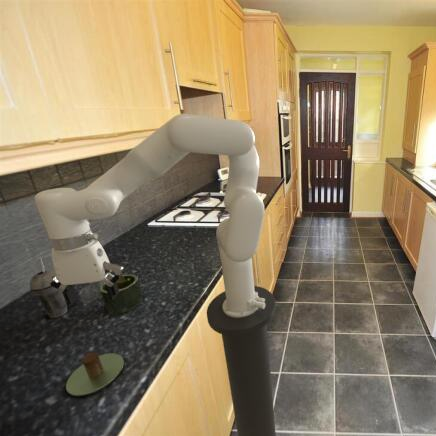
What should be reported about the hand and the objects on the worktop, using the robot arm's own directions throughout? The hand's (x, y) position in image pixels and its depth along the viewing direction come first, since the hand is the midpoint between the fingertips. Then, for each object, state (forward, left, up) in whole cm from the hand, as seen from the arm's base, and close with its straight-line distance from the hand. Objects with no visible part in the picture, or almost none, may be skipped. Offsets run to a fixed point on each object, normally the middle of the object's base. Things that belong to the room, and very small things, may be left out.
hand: (94, 299), depth 70 cm
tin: (+11, -15, -15) cm, 24 cm away
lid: (-7, +8, -15) cm, 18 cm away
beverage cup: (+28, -5, -15) cm, 33 cm away
